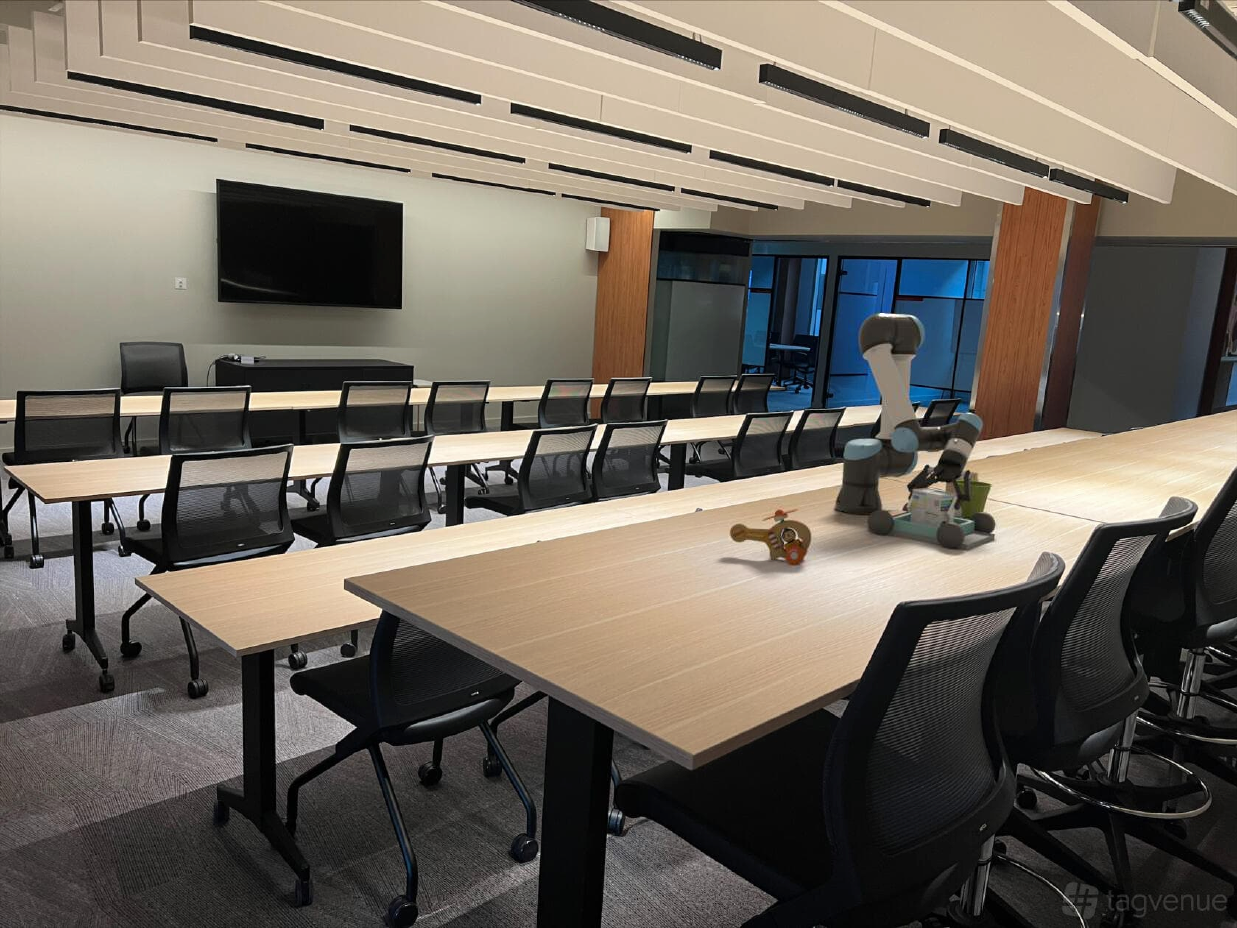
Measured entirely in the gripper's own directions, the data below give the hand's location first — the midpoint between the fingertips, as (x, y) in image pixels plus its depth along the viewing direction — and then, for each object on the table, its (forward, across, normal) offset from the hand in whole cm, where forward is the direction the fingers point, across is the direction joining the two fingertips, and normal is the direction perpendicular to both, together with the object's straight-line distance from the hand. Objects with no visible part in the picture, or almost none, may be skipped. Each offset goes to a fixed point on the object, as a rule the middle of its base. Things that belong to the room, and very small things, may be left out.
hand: (928, 513), depth 266 cm
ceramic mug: (-10, -3, +21) cm, 23 cm away
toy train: (-42, -17, +52) cm, 69 cm away
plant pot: (-23, -3, +33) cm, 40 cm away
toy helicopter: (+46, -15, -36) cm, 61 cm away
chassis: (+3, 0, +7) cm, 7 cm away
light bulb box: (+1, 0, +5) cm, 5 cm away
